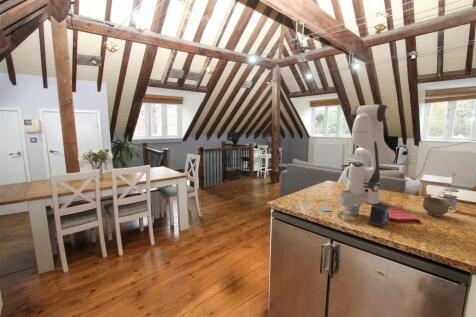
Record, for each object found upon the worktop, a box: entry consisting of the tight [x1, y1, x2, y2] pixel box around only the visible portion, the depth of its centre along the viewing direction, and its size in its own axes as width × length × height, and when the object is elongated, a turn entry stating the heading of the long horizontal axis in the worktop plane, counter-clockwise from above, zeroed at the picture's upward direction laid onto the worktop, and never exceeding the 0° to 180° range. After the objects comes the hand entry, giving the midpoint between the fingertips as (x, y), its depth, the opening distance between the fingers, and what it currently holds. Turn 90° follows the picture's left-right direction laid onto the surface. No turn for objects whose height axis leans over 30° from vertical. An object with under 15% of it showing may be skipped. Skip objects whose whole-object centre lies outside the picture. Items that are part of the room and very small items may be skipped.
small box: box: [368, 202, 391, 228], centre depth 130 cm, size 11×6×10 cm, turn 129°
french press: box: [436, 172, 460, 210], centre depth 157 cm, size 10×12×25 cm
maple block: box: [336, 208, 352, 222], centre depth 136 cm, size 5×5×5 cm
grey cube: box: [349, 204, 360, 216], centre depth 145 cm, size 5×5×5 cm
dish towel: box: [371, 204, 422, 223], centre depth 146 cm, size 17×24×3 cm
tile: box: [317, 206, 333, 213], centre depth 150 cm, size 6×6×1 cm
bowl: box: [422, 196, 450, 216], centre depth 147 cm, size 13×13×10 cm
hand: (352, 211), depth 145 cm, fingers closed on grey cube, 5 cm apart
